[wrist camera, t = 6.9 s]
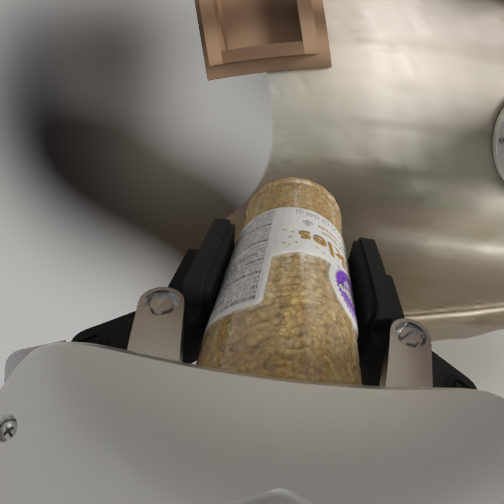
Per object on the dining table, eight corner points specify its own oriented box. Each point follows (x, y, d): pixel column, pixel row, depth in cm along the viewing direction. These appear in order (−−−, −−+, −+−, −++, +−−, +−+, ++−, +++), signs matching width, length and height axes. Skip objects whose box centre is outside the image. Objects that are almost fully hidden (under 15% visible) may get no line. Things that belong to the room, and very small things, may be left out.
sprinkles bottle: (359, 223, 15) (414, 540, 4) (289, 273, 17) (255, 553, 6) (295, 152, 14) (252, 529, 2) (225, 215, 16) (102, 508, 5)
